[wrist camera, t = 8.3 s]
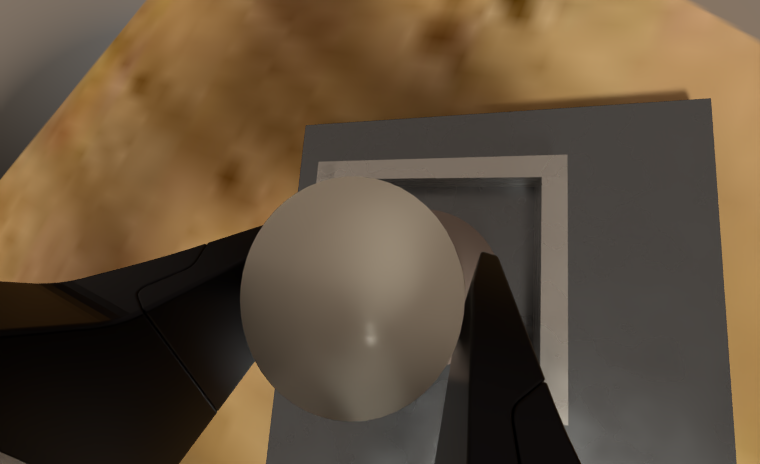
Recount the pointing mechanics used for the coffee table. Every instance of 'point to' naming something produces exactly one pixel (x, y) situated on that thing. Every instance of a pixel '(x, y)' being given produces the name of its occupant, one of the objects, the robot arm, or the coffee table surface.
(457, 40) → the coffee table surface
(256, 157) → the coffee table surface
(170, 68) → the coffee table surface
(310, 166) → the keeper board
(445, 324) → the beige flared base peg
